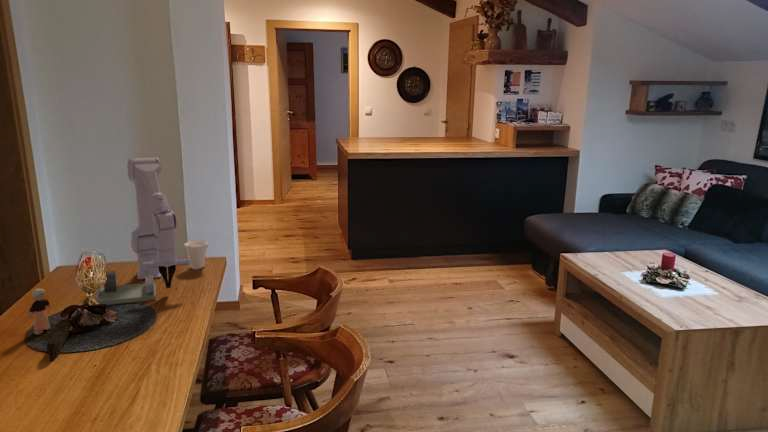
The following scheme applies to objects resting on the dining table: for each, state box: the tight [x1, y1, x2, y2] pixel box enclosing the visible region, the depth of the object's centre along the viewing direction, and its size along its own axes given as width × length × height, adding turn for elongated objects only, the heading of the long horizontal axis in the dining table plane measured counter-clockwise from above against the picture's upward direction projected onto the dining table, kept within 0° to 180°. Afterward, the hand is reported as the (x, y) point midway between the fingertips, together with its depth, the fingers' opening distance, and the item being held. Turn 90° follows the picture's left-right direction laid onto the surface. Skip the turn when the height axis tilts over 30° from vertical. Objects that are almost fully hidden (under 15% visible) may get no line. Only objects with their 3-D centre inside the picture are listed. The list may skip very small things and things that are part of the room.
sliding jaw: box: [144, 275, 155, 294], centre depth 187 cm, size 10×2×3 cm, turn 22°
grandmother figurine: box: [27, 287, 52, 335], centre depth 157 cm, size 8×4×13 cm, turn 179°
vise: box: [86, 281, 157, 306], centre depth 184 cm, size 13×20×5 cm, turn 112°
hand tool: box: [46, 319, 70, 362], centre depth 149 cm, size 19×4×5 cm, turn 17°
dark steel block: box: [103, 270, 118, 293], centre depth 185 cm, size 4×4×6 cm
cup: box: [182, 240, 209, 270], centre depth 213 cm, size 9×9×10 cm
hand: (168, 287), depth 186 cm, fingers closed
